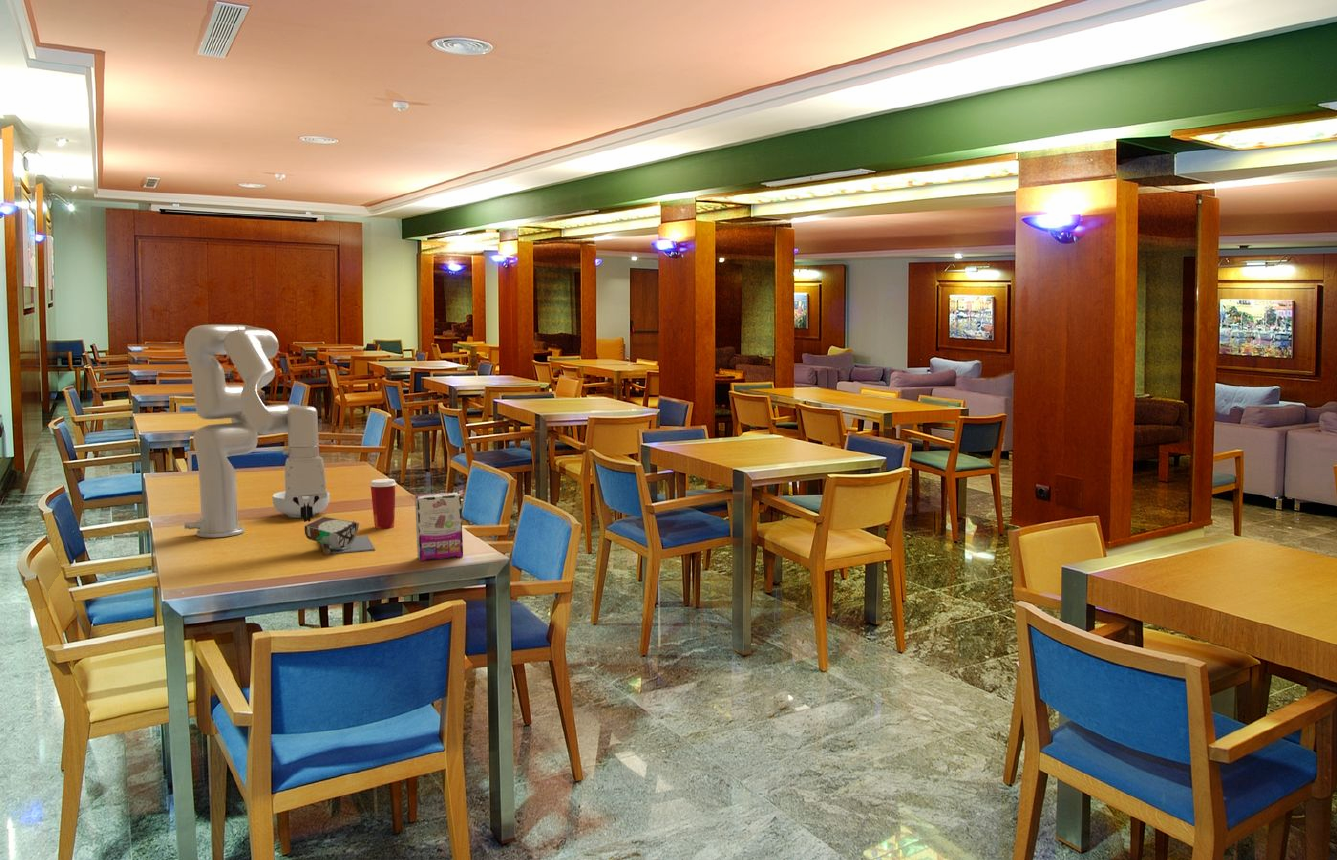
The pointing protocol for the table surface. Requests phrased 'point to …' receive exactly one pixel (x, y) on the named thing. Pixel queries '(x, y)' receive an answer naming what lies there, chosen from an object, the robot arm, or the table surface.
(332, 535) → the food container
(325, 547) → the rail
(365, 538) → the mat
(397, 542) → the table surface
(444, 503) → the candy bar box
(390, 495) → the paper cup
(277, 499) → the cereal bowl
